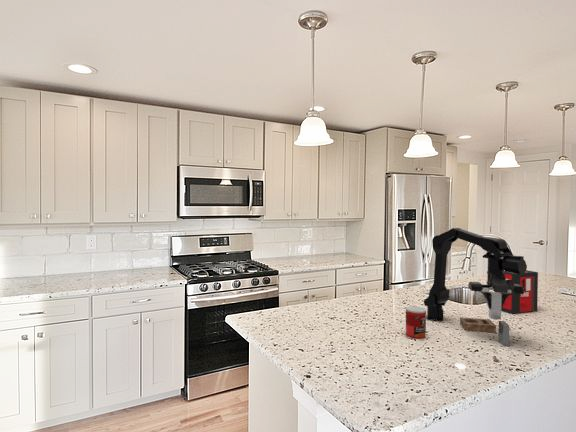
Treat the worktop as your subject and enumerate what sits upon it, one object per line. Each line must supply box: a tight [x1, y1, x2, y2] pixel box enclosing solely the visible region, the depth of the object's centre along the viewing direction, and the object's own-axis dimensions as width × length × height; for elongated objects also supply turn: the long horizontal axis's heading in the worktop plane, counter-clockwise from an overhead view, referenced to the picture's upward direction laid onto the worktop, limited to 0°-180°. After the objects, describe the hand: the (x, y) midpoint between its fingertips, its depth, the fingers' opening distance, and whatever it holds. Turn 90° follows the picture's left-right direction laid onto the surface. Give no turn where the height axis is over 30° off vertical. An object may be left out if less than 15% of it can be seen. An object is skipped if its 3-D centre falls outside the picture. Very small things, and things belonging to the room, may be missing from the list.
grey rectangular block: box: [497, 320, 510, 347], centre depth 138 cm, size 2×5×8 cm, turn 166°
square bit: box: [488, 291, 502, 320], centre depth 144 cm, size 4×4×10 cm
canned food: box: [405, 305, 427, 340], centre depth 147 cm, size 8×8×11 cm
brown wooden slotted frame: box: [459, 317, 497, 334], centre depth 156 cm, size 12×9×3 cm
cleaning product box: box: [499, 269, 539, 316], centre depth 184 cm, size 16×9×20 cm, turn 108°
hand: (494, 308), depth 144 cm, fingers closed on square bit, 3 cm apart
